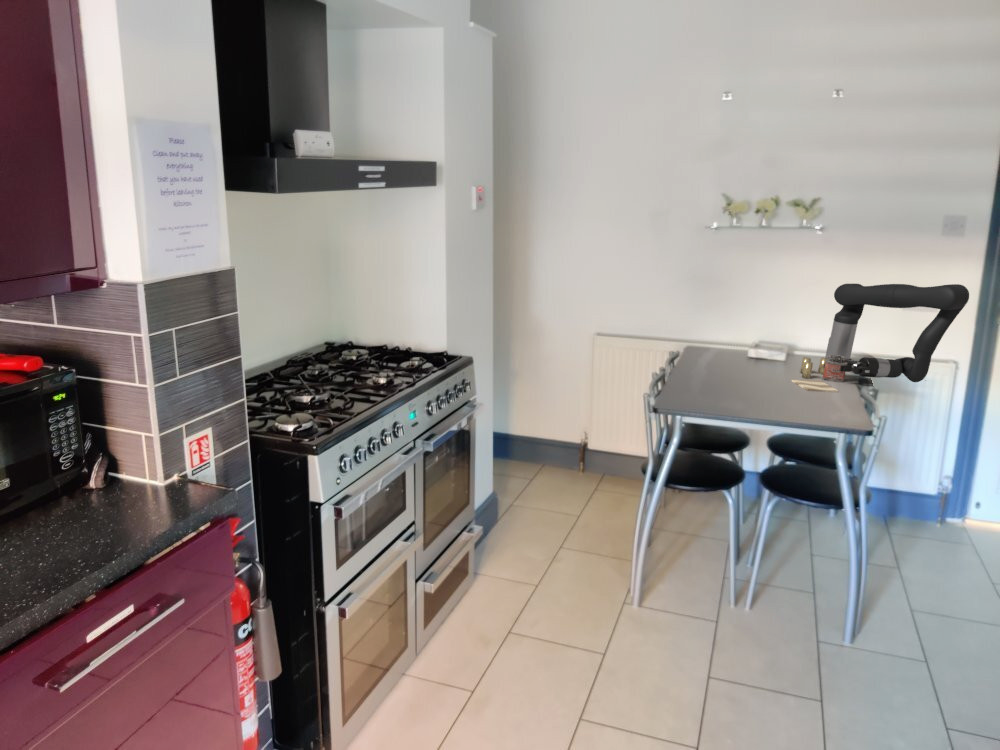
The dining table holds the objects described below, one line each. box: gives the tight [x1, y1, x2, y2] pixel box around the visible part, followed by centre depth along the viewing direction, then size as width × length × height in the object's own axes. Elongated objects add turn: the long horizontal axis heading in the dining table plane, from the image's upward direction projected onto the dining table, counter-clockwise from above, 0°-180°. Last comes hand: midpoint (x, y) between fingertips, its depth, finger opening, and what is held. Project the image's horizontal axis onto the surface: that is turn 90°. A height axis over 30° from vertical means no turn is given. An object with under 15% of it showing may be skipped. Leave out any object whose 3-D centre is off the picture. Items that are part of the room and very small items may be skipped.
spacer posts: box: [799, 356, 829, 380], centre depth 316 cm, size 11×14×6 cm
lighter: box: [821, 355, 848, 383], centre depth 310 cm, size 8×3×10 cm, turn 84°
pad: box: [791, 379, 839, 393], centre depth 300 cm, size 12×12×1 cm
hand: (834, 365), depth 310 cm, fingers open, 8 cm apart
